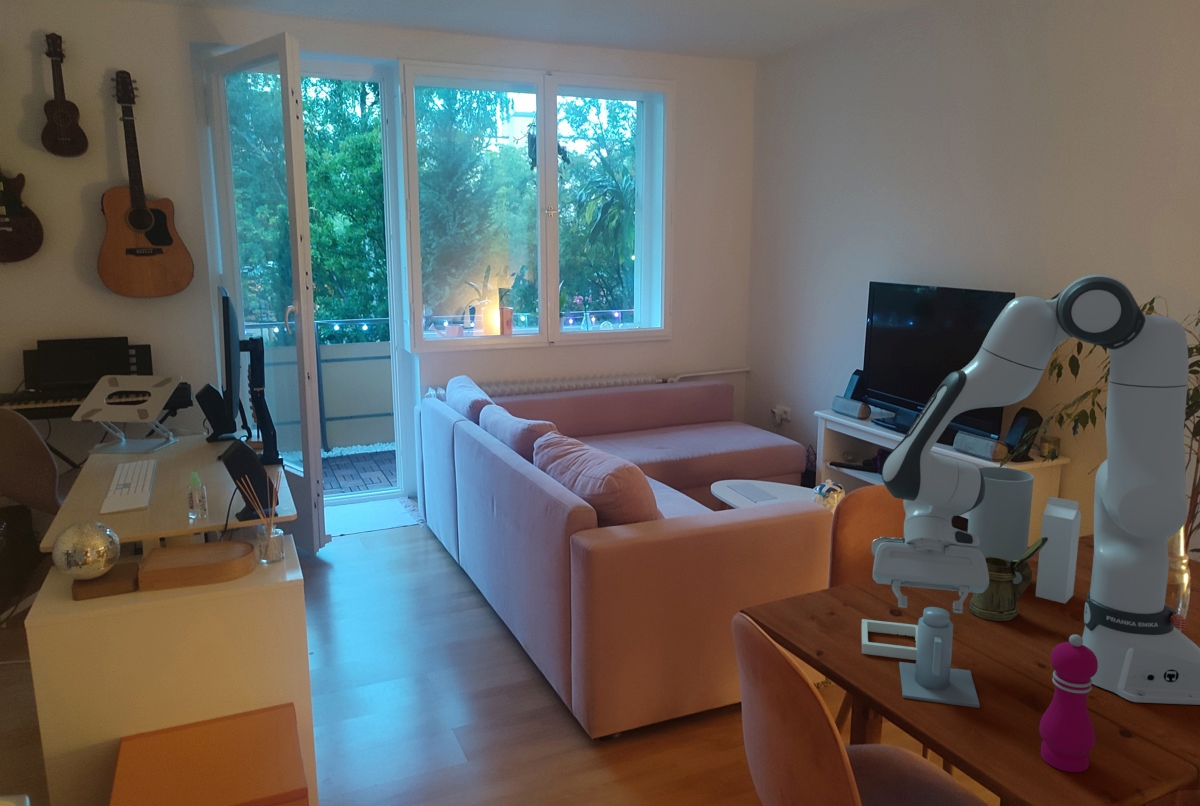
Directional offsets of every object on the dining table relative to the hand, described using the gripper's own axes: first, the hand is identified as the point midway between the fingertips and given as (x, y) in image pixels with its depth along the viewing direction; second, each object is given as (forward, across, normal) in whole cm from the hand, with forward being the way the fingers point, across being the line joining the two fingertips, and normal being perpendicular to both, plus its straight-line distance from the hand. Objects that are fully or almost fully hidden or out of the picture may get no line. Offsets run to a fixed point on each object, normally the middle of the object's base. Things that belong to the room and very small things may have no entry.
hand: (930, 609), depth 152 cm
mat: (+13, +1, +1) cm, 13 cm away
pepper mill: (+26, +17, -12) cm, 33 cm away
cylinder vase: (-24, +18, +39) cm, 50 cm away
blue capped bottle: (+14, 0, 0) cm, 14 cm away
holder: (+4, -6, +11) cm, 13 cm away
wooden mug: (-10, +17, +25) cm, 32 cm away
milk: (-19, +30, +34) cm, 49 cm away
